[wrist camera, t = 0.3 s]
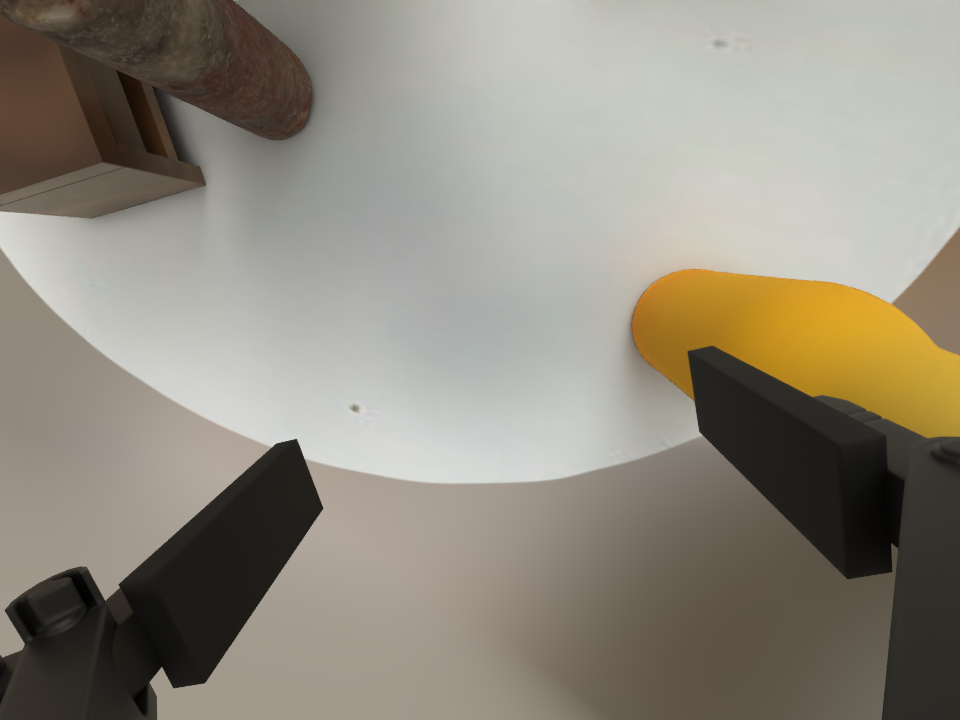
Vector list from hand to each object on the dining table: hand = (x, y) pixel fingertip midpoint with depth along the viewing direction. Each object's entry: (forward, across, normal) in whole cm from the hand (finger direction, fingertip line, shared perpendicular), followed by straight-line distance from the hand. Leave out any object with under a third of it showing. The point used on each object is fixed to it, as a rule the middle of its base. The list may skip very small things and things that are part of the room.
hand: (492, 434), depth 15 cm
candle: (+28, -14, +22) cm, 39 cm away
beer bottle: (+27, +15, -5) cm, 31 cm away
